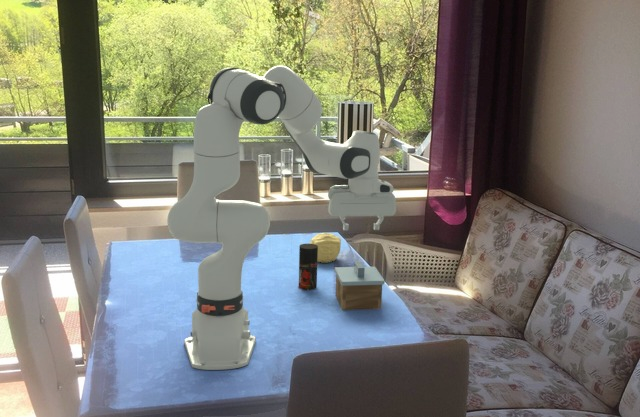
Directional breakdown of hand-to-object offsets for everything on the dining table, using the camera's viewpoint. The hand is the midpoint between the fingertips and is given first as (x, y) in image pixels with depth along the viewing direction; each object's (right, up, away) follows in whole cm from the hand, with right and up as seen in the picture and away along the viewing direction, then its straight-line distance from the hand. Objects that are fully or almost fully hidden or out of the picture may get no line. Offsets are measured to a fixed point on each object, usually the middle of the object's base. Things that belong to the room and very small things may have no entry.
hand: (361, 229), depth 193 cm
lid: (0, -15, +4) cm, 15 cm away
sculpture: (-11, -13, +48) cm, 51 cm away
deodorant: (-17, -21, +17) cm, 32 cm away
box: (-1, -24, +6) cm, 24 cm away
